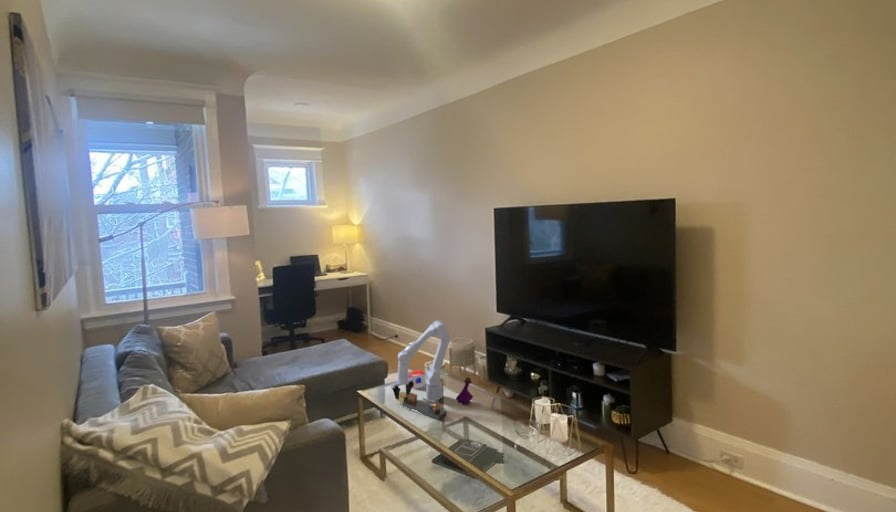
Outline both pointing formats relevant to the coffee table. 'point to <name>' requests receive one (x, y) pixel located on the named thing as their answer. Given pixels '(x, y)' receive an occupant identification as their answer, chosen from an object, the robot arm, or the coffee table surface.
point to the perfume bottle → (465, 392)
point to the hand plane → (425, 408)
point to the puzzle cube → (417, 378)
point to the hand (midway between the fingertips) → (402, 396)
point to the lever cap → (403, 397)
